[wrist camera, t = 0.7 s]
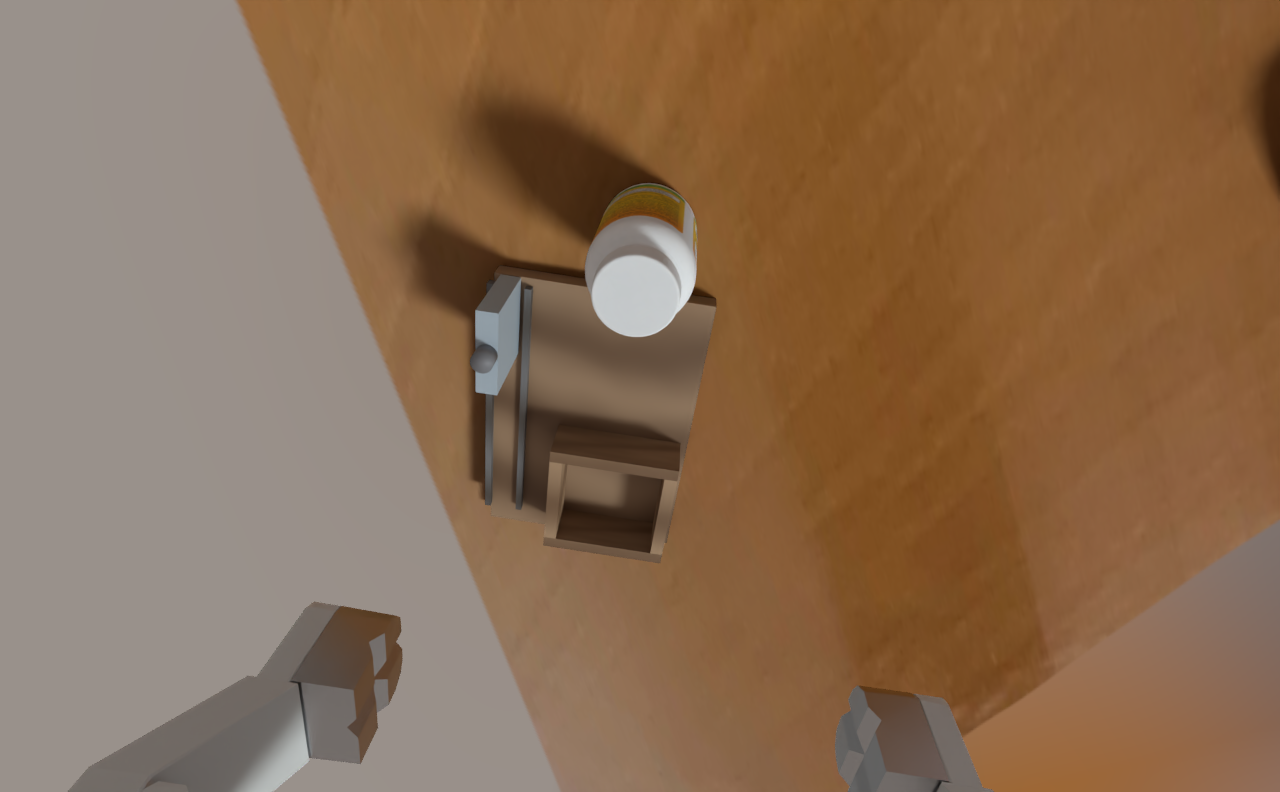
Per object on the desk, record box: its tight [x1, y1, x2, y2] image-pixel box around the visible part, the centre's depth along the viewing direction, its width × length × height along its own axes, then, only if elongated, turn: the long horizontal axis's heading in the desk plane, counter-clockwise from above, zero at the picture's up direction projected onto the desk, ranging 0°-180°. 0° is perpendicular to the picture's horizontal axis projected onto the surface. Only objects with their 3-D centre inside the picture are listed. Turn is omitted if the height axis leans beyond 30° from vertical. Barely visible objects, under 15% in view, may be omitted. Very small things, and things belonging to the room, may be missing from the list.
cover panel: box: [470, 274, 521, 395], centre depth 37 cm, size 5×1×6 cm, turn 172°
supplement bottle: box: [585, 183, 697, 337], centre depth 33 cm, size 5×5×10 cm
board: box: [485, 265, 716, 563], centre depth 42 cm, size 19×13×4 cm
